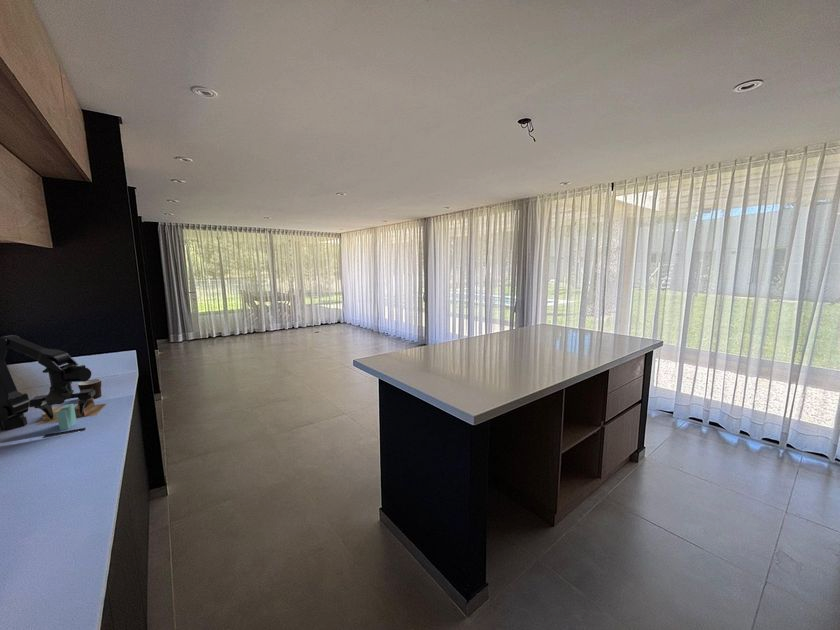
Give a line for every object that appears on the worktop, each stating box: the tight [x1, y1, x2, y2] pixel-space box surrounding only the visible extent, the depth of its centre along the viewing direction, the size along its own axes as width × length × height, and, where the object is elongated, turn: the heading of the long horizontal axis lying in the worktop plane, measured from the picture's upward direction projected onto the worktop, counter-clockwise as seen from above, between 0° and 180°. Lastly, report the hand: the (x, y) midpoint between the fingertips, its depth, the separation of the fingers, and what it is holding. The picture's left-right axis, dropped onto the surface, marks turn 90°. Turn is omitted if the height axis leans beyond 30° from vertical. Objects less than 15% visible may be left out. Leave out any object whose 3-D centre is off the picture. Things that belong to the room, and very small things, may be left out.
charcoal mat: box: [42, 427, 86, 439], centre depth 143 cm, size 12×11×1 cm
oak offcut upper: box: [41, 405, 65, 418], centre depth 150 cm, size 5×7×2 cm
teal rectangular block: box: [57, 403, 78, 432], centre depth 142 cm, size 2×8×9 cm, turn 28°
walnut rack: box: [34, 398, 108, 426], centre depth 153 cm, size 20×14×6 cm
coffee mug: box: [77, 378, 102, 400], centre depth 169 cm, size 12×9×10 cm
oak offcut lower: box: [42, 415, 58, 421], centre depth 150 cm, size 5×7×2 cm
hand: (67, 416), depth 142 cm, fingers open, 9 cm apart
